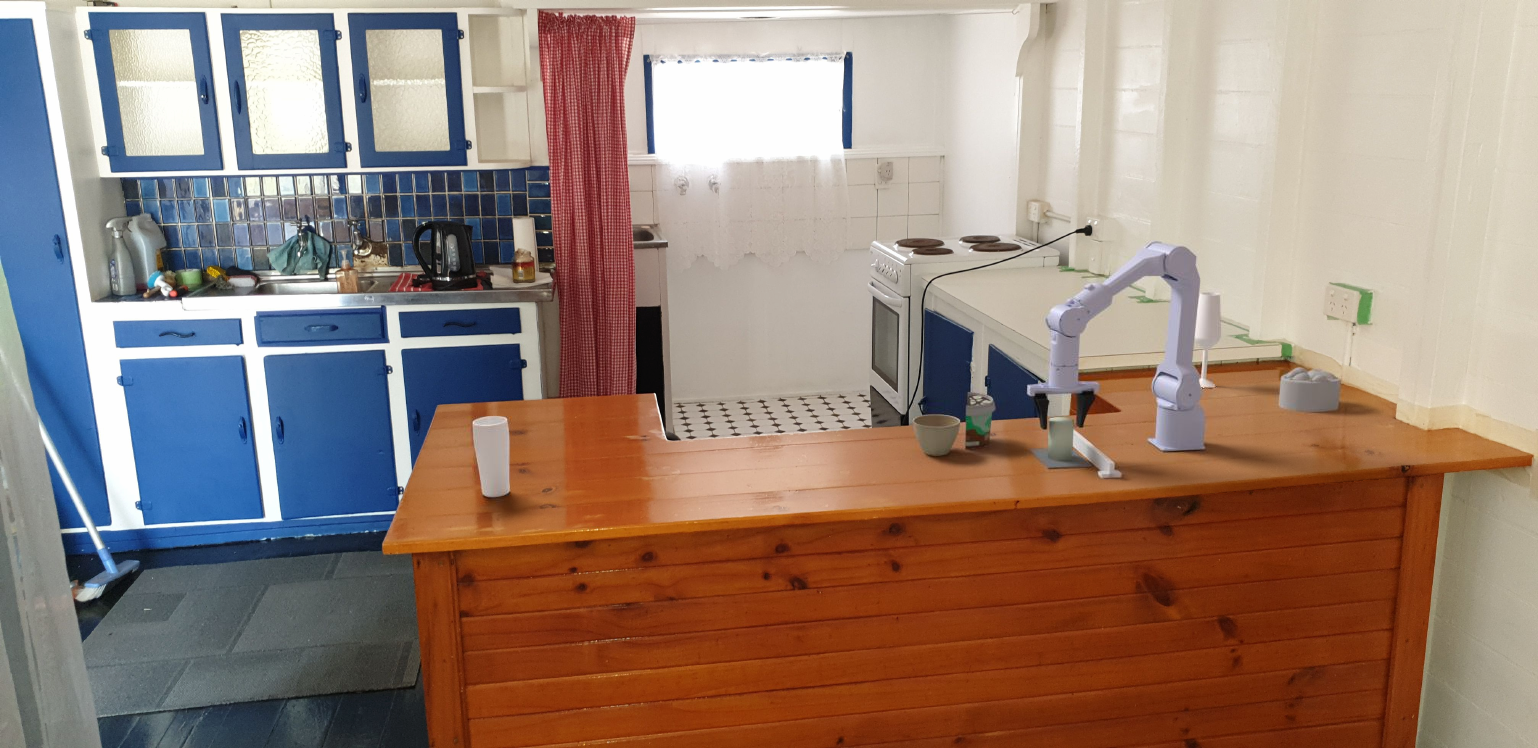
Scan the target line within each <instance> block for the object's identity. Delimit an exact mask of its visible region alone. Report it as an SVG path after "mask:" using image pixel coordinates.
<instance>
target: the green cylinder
mask: <svg viewBox="0 0 1538 748" xmlns="http://www.w3.org/2000/svg"><path fill="white" fill-rule="evenodd" d="M1074 422H1075V420H1074V419H1072V418H1070V417H1064V416H1056V417H1055V416H1054V417H1051V418H1049V419H1048V439H1047V443H1048V445H1047V449H1048V458H1049V459H1052V460H1056V461H1068V460H1071V459H1072V458H1073V450H1074V447H1073V431H1074V430H1075V429H1074V427H1075V425H1074V424H1075V423H1074Z"/></svg>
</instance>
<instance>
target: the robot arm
mask: <svg viewBox="0 0 1538 748" xmlns="http://www.w3.org/2000/svg"><path fill="white" fill-rule="evenodd" d="M1144 277H1160V278H1162V279H1163V281H1165V282H1166V283H1167V285H1169V286H1170V289H1171V290H1170V298H1169V299H1170V300H1169V308H1168V309H1169V311H1168V312H1169V313H1168V321H1167V332H1166V342H1165V343H1166V344H1165V353H1164V360H1163V361H1162V362H1160V363H1159V364H1158V365H1156V366H1157V367H1156V372H1155V375H1154V376H1153V379H1152V380H1151V381H1152V382H1151V392H1152V394H1153V395H1154V397H1156V400H1155V401H1156V403H1157V407H1156V408H1157V409H1156V420H1155V421H1156V422H1155V437H1152V438H1151V437H1150V438H1149V437H1148V438H1147V441H1148V442H1150V443H1151V444H1152V445H1153V446H1155V447H1156V448H1157V449H1159V450H1160V451H1161V452H1173V451H1174V452H1175V451H1194V450H1195V451H1197V450H1200V451H1201V450H1205V449H1206V446H1204V445H1205V433H1206V432H1205V431H1206V414H1205V410H1204V409H1203V407H1202V406H1201V405H1200V404H1199V403H1200V401H1201V399H1202V396H1203V389H1202V388H1201V386H1200V382H1199V379H1201V375H1200V372H1199V370H1197V368H1196V367H1195V365H1194V363H1193V358H1194V348H1195V340H1194V339H1195V329H1196V319H1197V309H1198V302H1199V296H1200V286H1201V278H1200V273H1199V272H1198V268H1197V256H1196V254H1194V252H1192V251H1191V250H1190V249H1189V248H1188V247H1186V246H1184V245H1183V246H1182V245H1173V244H1169V243H1164V242H1161V241H1158V240H1156V241H1155V240H1154V241H1151V242H1149V243H1148V244H1146V245H1145V246H1144V247H1142V248H1140V249H1138V250H1137V252H1136V254H1135V256H1133V257H1132V259H1130V260H1129V261H1128V262H1126V263H1125V264H1124V265H1123V266H1122V267H1120V268H1119V269H1118V270H1117V271H1115V272H1114V273H1113V274H1112V275H1110V276H1109V277H1108V278H1107V279H1106V280H1104V282H1102V283H1100V282H1092V283H1086V285H1084V286H1083V287H1084V289H1083V290H1081V291H1080V292H1078V293H1077V294H1076V295H1074V296H1073V297H1072V298H1070V297H1069V298H1067V299H1066V300H1065V304H1063V303H1060V304H1056V305H1055V306H1053V307H1052V308H1051V309H1050V311H1049V313H1048V315H1047V317H1045V324H1046V327H1047V328H1048V330H1049V331H1050V332H1049V333H1050V335H1049V336H1050V337H1049V338H1050V344H1049V346H1050V348H1049V349H1050V350H1049V351H1050V352H1049V374H1048V375H1049V376H1048V377H1049V379H1048V380H1049V381H1047V382H1041V383H1035V384H1027V389H1026V390H1027V391H1026V394H1027V395H1028V396H1029V397H1031V399H1032V402H1033V403H1034V406H1035V408H1036V409H1035V410H1036V412H1037V415H1038V418H1039V426H1040V428H1041V429H1042V430H1043V431H1044V430H1048V413H1049V405H1050V402H1051V401H1050V399H1048V396H1047V395H1065V394H1075V396H1076V397H1075V398H1076V417H1075V419H1076V420H1075V425H1076V427H1078V428H1080V429H1083V428H1084V423H1085V421H1086V418H1087V415H1088V412H1089V411H1090V409H1091V407H1092V405H1094V404H1093V403H1094V402H1095V401H1096V394H1099V393H1100V383H1098V382H1097V381H1079V365H1080V364H1079V361H1080V360H1079V359H1080V357H1079V356H1080V338H1081V337H1080V336H1081V334H1083V332H1085V329H1086V327H1087V324H1088V323H1089V322H1090V320H1092V319H1094V318H1095V317H1096V316H1097V315H1099V314H1101V313H1102V312H1103V311H1105V310H1106V309H1107V308H1108V307H1111V305H1112V303H1113V299H1114V298H1113V297H1114V296H1115V295H1118V294H1119V293H1120V292H1122V291H1124V290H1126V289H1127V288H1128V287H1130V286H1131V285H1133V284H1134V283H1136V282H1138V281H1140V280H1141V279H1142V278H1144Z"/></svg>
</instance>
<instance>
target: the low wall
mask: <svg viewBox="0 0 1538 748" xmlns="http://www.w3.org/2000/svg"><path fill="white" fill-rule="evenodd" d="M1073 449H1076V450H1077V451H1078V452H1079V453H1080V454H1082V456H1083V457H1085V458H1086V459H1087V460H1088V461H1089V462H1090V463H1091V464H1092V465H1094V467H1096V468H1097V469H1098V471H1097V475H1098V477H1100V478H1101V479H1110V478H1111V479H1112V478H1122V472H1120V471H1119V470H1118V469H1115V465H1116V464H1115V462H1113V460H1112V459H1110V458H1109V457H1108V456H1107V455H1106V454H1104V453H1103V452H1102V451H1101V450H1099V448H1097V447H1096V446H1094V444H1092V443H1091V442H1090V441H1089V440H1087V439H1086V438H1085V437H1084V436H1083V435H1082V434H1080V433H1079V432H1078V431H1077V430H1075V429H1074V431H1073Z"/></svg>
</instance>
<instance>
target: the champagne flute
mask: <svg viewBox="0 0 1538 748" xmlns="http://www.w3.org/2000/svg"><path fill="white" fill-rule="evenodd" d="M1221 317H1222V316H1221V294H1220V293H1219V292H1214V291H1213V292H1212V291H1204V292H1199V299H1198V309H1197V319H1196V329H1195V339H1194V343H1196V344H1197V345H1198V346H1199V348H1201V349H1203V351H1202V364H1201V375H1200V378H1199V382H1200V386H1201V387H1203V388H1204V387H1215V385H1216V384H1214V383H1213V382H1212V381H1210V380H1208V379H1207V370H1208V359H1209V358H1208V356H1209V350H1210V349H1212V348H1213V347H1214V346H1215V345H1217V344H1218V343H1219V341H1220V340H1221V338H1222V328H1221V327H1222V324H1221V322H1222V321H1221V320H1222V319H1221Z"/></svg>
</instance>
